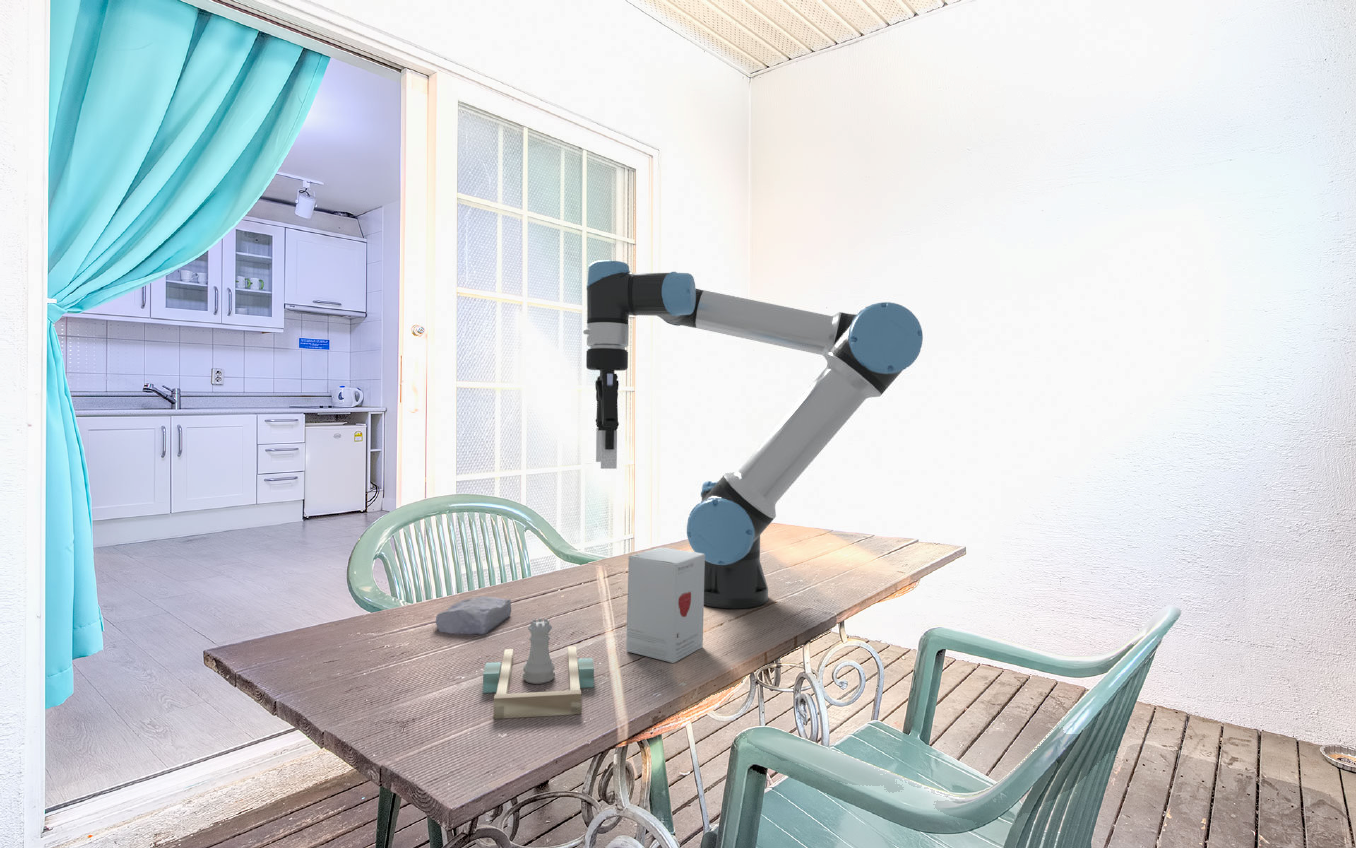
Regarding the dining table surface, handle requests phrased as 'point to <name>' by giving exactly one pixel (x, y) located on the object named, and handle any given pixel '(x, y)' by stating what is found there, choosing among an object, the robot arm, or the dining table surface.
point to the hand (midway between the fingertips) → (605, 465)
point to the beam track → (537, 701)
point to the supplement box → (665, 603)
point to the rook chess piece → (539, 654)
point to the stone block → (474, 615)
